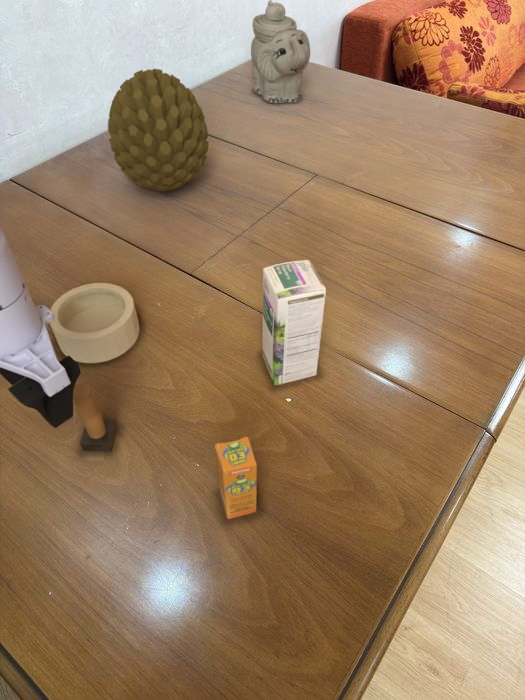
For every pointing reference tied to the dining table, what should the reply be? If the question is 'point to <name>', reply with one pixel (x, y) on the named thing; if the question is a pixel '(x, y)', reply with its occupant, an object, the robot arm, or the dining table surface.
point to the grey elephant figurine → (278, 55)
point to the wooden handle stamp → (93, 421)
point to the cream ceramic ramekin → (95, 322)
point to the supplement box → (237, 477)
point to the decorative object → (157, 131)
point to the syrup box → (292, 320)
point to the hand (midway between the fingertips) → (40, 398)
